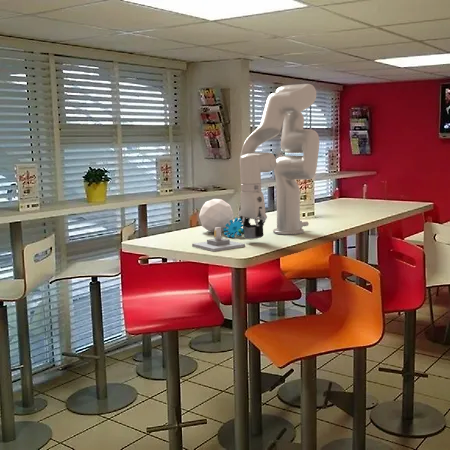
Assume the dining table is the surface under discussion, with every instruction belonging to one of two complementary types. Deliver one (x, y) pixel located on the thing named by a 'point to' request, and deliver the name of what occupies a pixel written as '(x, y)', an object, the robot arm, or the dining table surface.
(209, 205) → the geometric sphere
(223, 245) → the shaft stand
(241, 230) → the gear
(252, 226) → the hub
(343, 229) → the dining table surface
